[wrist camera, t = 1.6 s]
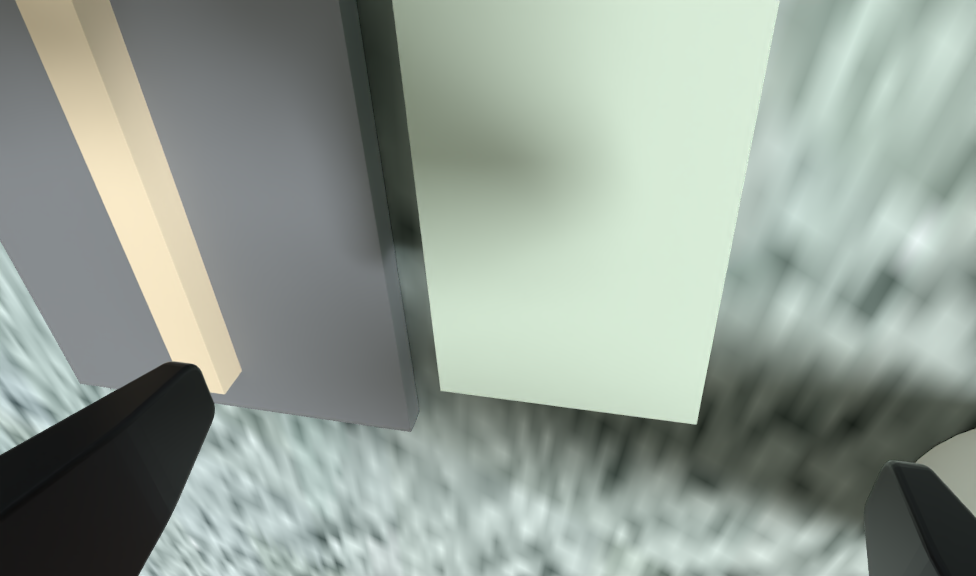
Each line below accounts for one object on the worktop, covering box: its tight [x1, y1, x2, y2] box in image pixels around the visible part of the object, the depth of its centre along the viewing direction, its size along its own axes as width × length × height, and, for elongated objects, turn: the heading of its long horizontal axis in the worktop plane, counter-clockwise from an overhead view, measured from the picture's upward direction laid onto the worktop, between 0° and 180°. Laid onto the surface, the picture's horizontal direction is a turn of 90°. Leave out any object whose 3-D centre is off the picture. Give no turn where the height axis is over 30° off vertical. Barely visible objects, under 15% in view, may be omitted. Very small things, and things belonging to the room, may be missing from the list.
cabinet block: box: [392, 0, 780, 425], centre depth 16 cm, size 6×11×6 cm, turn 3°
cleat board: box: [0, 0, 419, 432], centre depth 19 cm, size 14×24×2 cm, turn 3°
